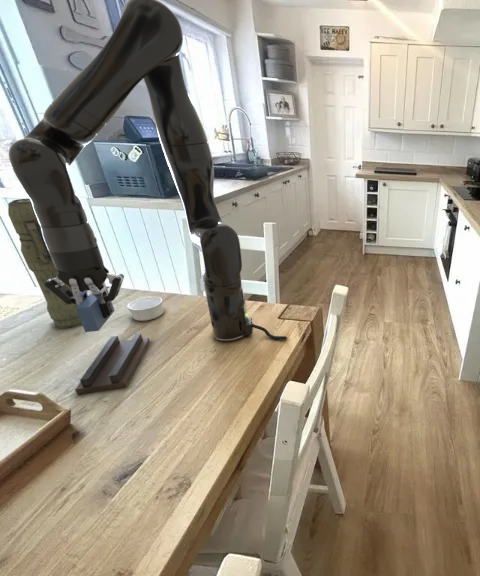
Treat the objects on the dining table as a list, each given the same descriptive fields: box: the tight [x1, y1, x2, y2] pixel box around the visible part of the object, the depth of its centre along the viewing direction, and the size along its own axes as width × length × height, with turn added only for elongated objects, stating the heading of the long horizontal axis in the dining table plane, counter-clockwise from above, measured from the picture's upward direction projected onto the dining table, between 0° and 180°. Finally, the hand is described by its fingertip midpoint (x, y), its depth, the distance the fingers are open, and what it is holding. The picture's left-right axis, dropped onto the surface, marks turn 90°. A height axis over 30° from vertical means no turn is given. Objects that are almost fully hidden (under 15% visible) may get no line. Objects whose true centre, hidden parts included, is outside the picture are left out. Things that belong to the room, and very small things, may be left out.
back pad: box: [76, 288, 115, 333], centre depth 73 cm, size 2×9×6 cm, turn 18°
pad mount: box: [74, 333, 151, 395], centre depth 79 cm, size 9×18×4 cm, turn 18°
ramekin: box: [126, 295, 164, 322], centre depth 100 cm, size 9×9×4 cm
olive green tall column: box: [7, 198, 83, 329], centre depth 88 cm, size 9×12×35 cm
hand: (99, 316), depth 73 cm, fingers closed on back pad, 2 cm apart
